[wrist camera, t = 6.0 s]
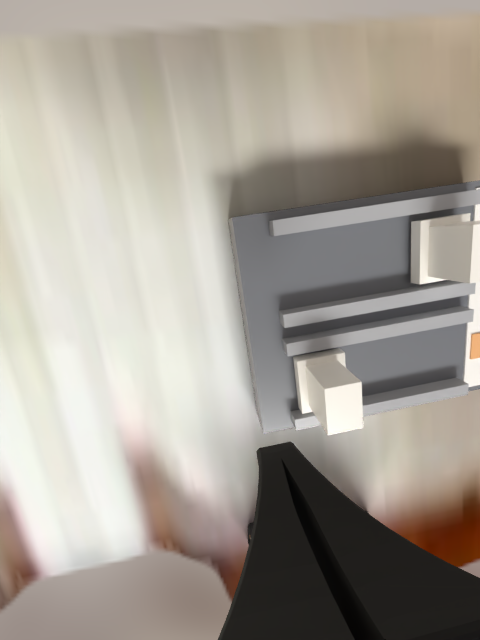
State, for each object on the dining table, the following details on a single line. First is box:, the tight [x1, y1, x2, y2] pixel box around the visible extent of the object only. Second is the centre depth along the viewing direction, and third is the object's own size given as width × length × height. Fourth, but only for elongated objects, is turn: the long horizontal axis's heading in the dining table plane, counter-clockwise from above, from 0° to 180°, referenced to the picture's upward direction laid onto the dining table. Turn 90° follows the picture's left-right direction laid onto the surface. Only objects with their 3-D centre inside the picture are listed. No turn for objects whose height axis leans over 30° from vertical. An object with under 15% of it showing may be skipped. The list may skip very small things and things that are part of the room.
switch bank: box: [228, 181, 480, 434], centre depth 20 cm, size 16×14×4 cm
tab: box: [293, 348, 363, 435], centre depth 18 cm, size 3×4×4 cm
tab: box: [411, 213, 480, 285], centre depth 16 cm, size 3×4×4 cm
